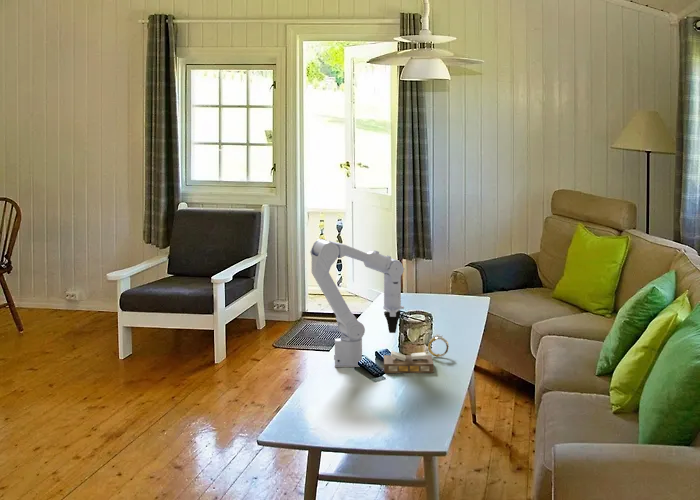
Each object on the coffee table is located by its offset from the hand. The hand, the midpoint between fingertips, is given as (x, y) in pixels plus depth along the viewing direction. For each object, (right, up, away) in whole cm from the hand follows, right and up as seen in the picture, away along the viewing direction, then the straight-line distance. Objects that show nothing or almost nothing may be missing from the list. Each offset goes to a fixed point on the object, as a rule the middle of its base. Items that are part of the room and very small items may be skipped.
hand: (392, 332), depth 288 cm
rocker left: (+1, -7, -10) cm, 12 cm away
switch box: (+5, -11, -9) cm, 15 cm away
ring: (+16, -9, +3) cm, 19 cm away
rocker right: (+8, -7, -10) cm, 15 cm away
